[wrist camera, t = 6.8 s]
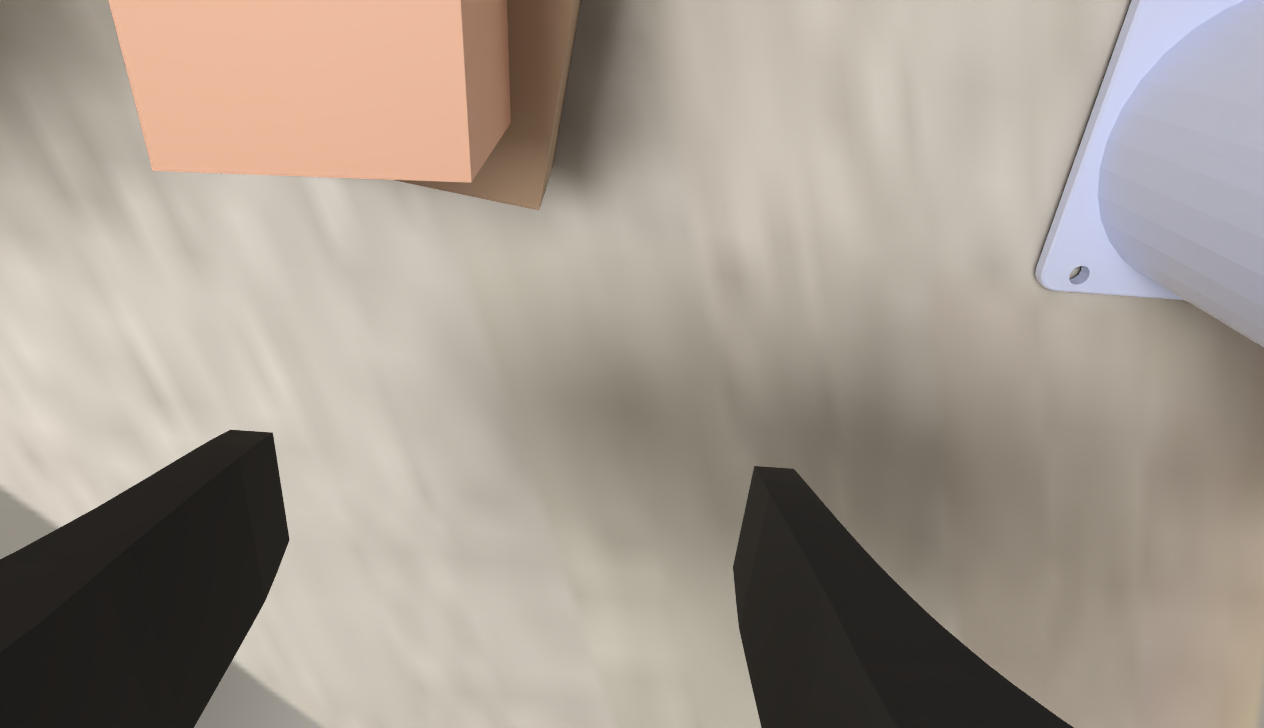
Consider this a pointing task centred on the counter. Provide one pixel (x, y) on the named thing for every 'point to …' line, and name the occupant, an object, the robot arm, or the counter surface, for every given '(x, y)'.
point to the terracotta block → (319, 85)
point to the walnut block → (527, 105)
